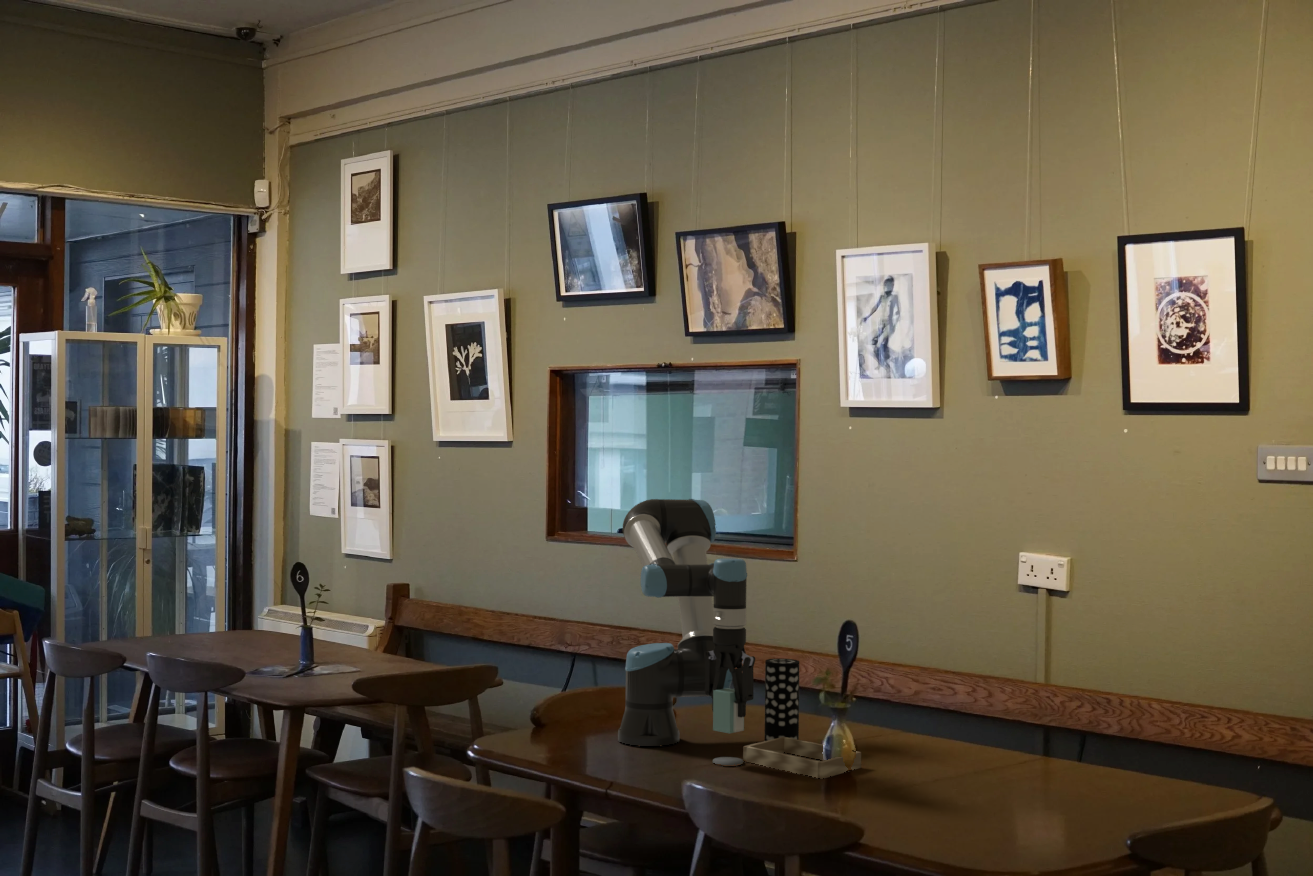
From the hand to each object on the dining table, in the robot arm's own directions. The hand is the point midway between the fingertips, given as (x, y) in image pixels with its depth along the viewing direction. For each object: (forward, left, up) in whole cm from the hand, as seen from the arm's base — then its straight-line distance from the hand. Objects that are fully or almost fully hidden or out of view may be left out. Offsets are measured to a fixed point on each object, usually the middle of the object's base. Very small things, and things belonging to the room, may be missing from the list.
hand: (728, 729), depth 284 cm
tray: (+12, +11, -8) cm, 18 cm away
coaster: (0, 0, -8) cm, 8 cm away
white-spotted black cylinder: (-5, +26, -8) cm, 27 cm away
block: (0, 0, 0) cm, 0 cm away
